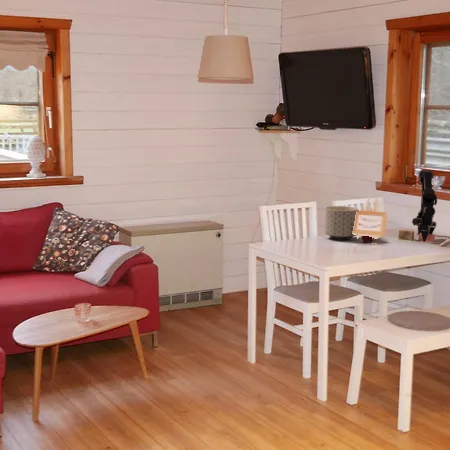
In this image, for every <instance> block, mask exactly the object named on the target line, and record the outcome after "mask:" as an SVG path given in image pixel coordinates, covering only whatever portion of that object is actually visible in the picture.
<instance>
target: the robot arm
mask: <svg viewBox="0 0 450 450" xmlns="http://www.w3.org/2000/svg"><path fill="white" fill-rule="evenodd" d="M434 175H435V174H434V172H433V171H432V170H427V169H426V170H422V169H421V170H420V171H419V172H418V179H419V182H420V184H421V196H420V197H421V198H420V210H419V211H418V212H417V215H416V217H415V218H412V220H411V224H412V225H413V226H416V227H417V233H416V235H417V236H419V234H420V233H421V234H422V238H423V241H422V242H423V243H426V242H427V241H426V239H427V236H428V234H433V233H434V231H435V229H436V227H437V222H436V221H434V220H433V218H434V216H435V214H436V209H435V207H434V206H437V204H438V197H437V194H436V191H435V190H434V189H433V182H432V181H433V179H434Z"/></svg>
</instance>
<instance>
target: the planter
mask: <svg viewBox="0 0 450 450" xmlns="http://www.w3.org/2000/svg"><path fill="white" fill-rule="evenodd" d="M356 211H358V212H359V208H358V207H354V206H345V205H336V206H335V205H334V206H333V205H332V206H327V207H325V218H324V219H325V220H324V222H325V223H324V234H325V235H327V236H329V237H330V238H331V239H333V240H337V241H338V240H339V241H346V240H350V239H352V238H353V237H355V236H357V235H353V234H352V231H353V226H354V221H355V215H356Z"/></svg>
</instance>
